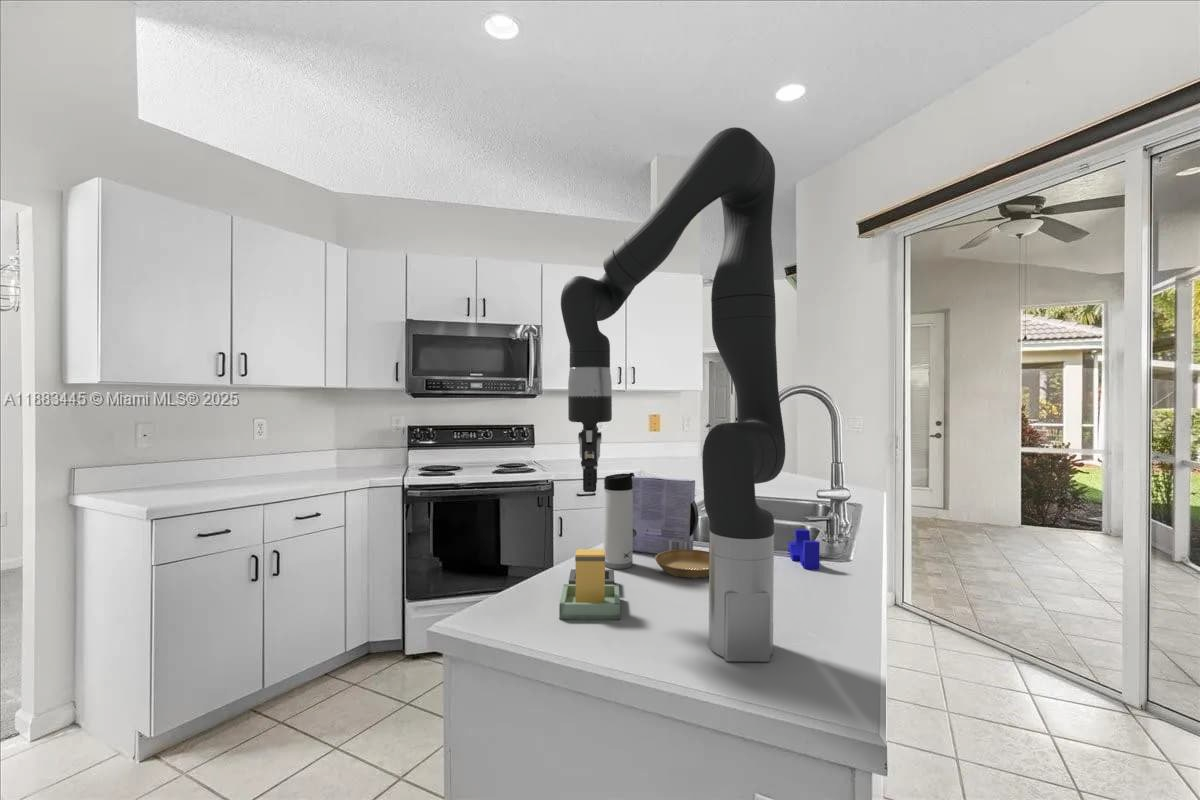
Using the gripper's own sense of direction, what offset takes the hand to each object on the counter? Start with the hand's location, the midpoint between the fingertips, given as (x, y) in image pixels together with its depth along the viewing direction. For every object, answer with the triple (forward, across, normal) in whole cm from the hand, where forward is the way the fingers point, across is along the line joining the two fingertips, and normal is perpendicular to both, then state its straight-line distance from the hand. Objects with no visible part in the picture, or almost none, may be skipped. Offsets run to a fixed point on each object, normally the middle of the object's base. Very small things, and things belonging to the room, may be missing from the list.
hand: (590, 487), depth 102 cm
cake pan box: (+21, +37, -14) cm, 45 cm away
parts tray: (+21, 0, 0) cm, 21 cm away
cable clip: (+21, +29, -47) cm, 59 cm away
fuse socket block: (+21, +11, 0) cm, 24 cm away
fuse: (+20, 0, 0) cm, 20 cm away
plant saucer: (+21, +23, -20) cm, 37 cm away
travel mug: (+21, +26, -6) cm, 34 cm away
